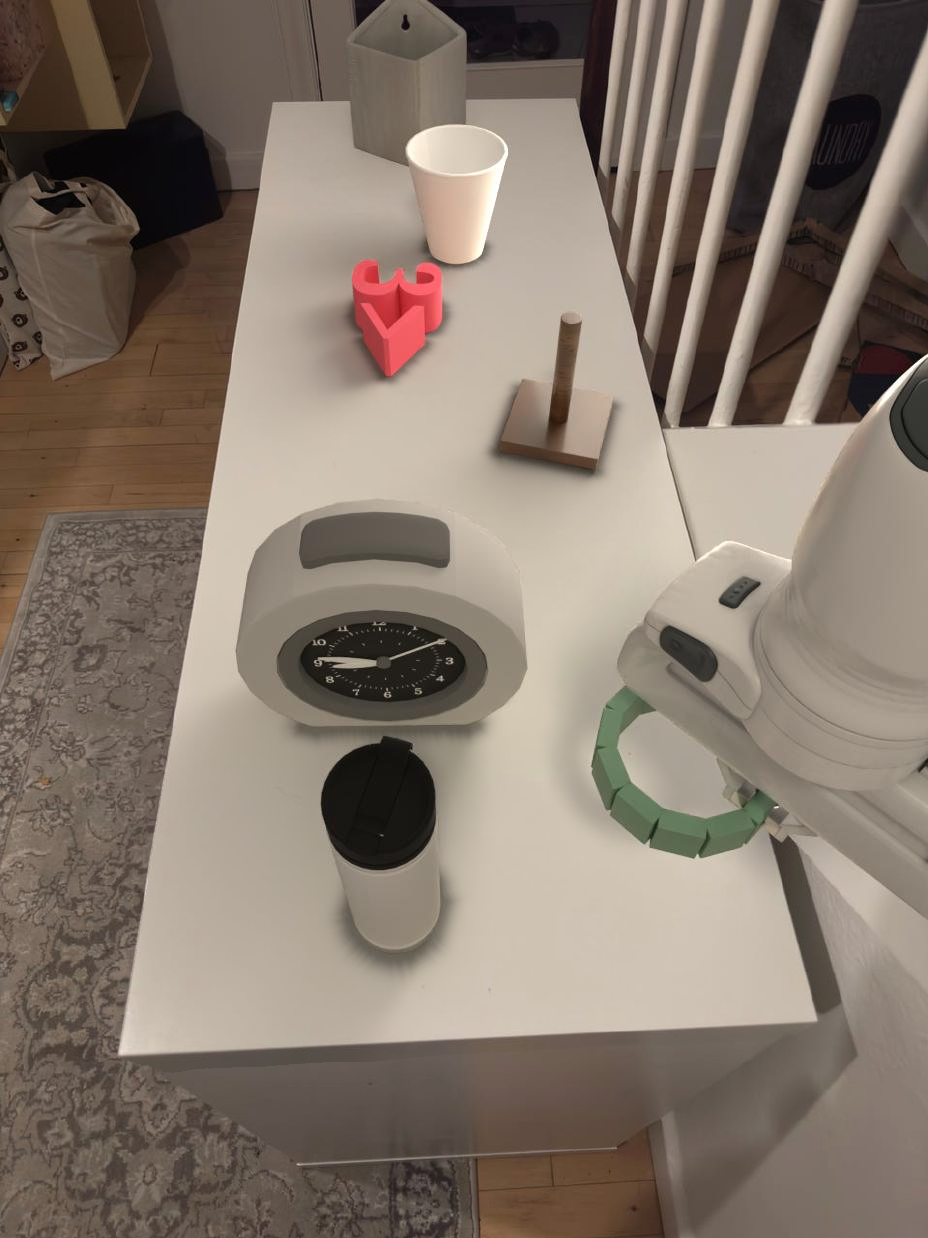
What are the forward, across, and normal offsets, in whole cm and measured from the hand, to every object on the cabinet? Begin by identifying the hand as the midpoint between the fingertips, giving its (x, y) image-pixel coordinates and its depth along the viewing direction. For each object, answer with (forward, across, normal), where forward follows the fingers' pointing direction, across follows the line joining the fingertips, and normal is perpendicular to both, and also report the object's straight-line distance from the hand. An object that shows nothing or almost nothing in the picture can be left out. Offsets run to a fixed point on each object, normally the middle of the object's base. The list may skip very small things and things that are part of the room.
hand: (757, 810), depth 49 cm
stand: (+16, +40, -30) cm, 53 cm away
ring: (+2, +5, 0) cm, 5 cm away
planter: (+16, +92, -58) cm, 110 cm away
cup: (+16, +71, -46) cm, 86 cm away
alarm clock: (+16, +29, +3) cm, 33 cm away
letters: (+16, +63, -28) cm, 71 cm away
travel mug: (+17, +15, +15) cm, 27 cm away
